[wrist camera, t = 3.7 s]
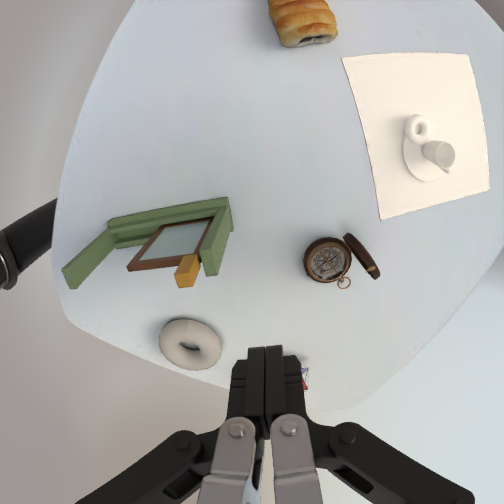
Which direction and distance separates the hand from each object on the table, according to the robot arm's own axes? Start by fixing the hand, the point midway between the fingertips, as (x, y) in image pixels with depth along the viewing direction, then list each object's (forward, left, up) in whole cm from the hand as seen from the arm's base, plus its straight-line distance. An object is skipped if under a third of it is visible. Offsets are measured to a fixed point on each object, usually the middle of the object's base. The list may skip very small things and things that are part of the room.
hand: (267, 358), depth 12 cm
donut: (-14, -19, -22) cm, 32 cm away
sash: (-9, 0, -21) cm, 23 cm away
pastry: (+7, +22, -22) cm, 32 cm away
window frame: (-12, 0, -22) cm, 25 cm away
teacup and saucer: (+22, +8, -22) cm, 33 cm away
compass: (+8, -8, -22) cm, 25 cm away
